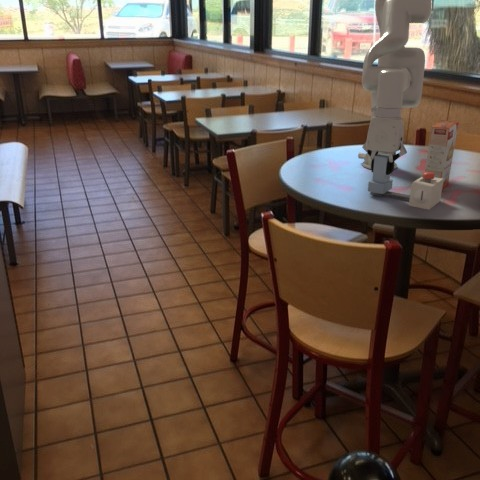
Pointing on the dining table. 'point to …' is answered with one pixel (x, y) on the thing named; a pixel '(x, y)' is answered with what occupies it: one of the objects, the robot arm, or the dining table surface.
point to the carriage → (380, 175)
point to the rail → (393, 195)
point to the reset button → (428, 176)
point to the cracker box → (441, 149)
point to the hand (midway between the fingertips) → (381, 172)
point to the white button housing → (425, 193)
